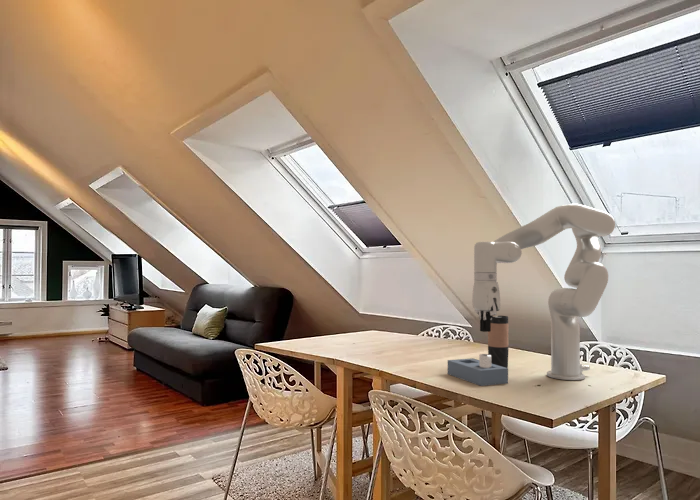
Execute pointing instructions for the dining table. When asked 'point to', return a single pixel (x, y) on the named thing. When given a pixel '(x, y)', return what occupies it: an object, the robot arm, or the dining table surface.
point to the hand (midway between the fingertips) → (485, 331)
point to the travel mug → (498, 341)
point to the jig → (477, 372)
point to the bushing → (485, 361)
